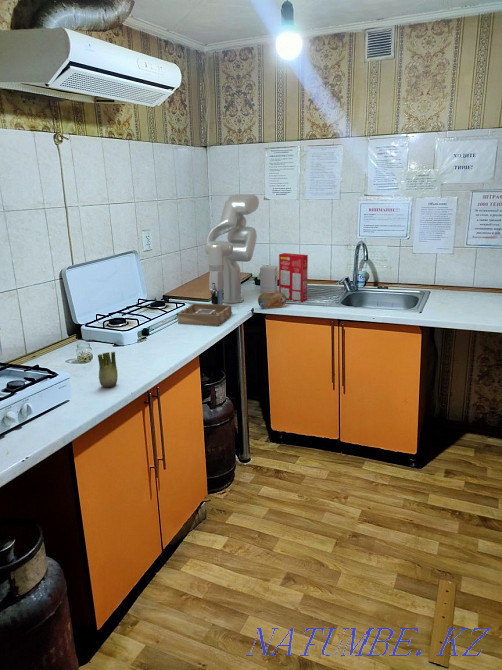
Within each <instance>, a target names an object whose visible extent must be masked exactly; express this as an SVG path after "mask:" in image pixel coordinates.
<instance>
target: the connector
mask: <svg viewBox="0 0 502 670" xmlns="http://www.w3.org/2000/svg"><path fill="white" fill-rule="evenodd" d="M215 294H216V292H215ZM217 296H218V304H212V305H224V304H223V303H224V302H223V296H224V294H223V295H222V289H221V290H219V291H218V293H217Z"/></svg>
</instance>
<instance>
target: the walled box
mask: <svg viewBox="0 0 502 670" xmlns="http://www.w3.org/2000/svg"><path fill="white" fill-rule="evenodd" d="M187 307H188V308H187ZM187 307H185V308H183V310H181V311H180V312H178V313H177V324H178V325H191V326H192V325H193V326H205V327H206V326H207V327H219V326H221V325H222V324H223V323H224V322H226V321H227V320H228V319H229V318H230V317H232V305H229V304H223V305H213V304H212V303H192V304H190V305H189V306H187Z"/></svg>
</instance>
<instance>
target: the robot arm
mask: <svg viewBox="0 0 502 670" xmlns="http://www.w3.org/2000/svg"><path fill="white" fill-rule="evenodd" d="M259 204H260V201H259V198H258V196H257V195H255V194H233V195H231V196H229V197H228V199H227V200H226V201H225V202H224V204H223V205H224V206H223V209H222V213H221V216H220V221H219V222H218V223H217V224H216V225H215V226H213V227H212V228H211V230H210V231H209V232H208V235H207V237H206V242H205V247H204V250H205V253H206V254H207V255H208V270H209V275H208V276H209V278H208V280H209V281H208V283H209V284H208V289H209V292H210V297H211V304H212V305H213V304H218V296H217V293H218V291H219V290H221V289H222V295H223V303H224V304H225V303H226V304H238V303H242V302H243V303H244V301H245V298H244V297H242V285H241V284H242V283H241V282H242V281H241V278H242V277H241V267H240V265H239V264H238V262H240V263H241V262H242V263H243V262H251V261H252V259H253V257H254V256H253V255H254V251H255V247H256V243H257V237H258V236H257V231H256V228H255V227H253V226H247V219H246V217H245V216H248V215H251V214H252V213H254V212H256V211H257V209H258V207H259ZM226 233H227V236H226V237H227V241H226V240H225V241H224V240H223V241H222V240H217V239H218V238H219V237H220V236H222V235H224V234H226ZM215 292H216V294H215Z"/></svg>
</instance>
